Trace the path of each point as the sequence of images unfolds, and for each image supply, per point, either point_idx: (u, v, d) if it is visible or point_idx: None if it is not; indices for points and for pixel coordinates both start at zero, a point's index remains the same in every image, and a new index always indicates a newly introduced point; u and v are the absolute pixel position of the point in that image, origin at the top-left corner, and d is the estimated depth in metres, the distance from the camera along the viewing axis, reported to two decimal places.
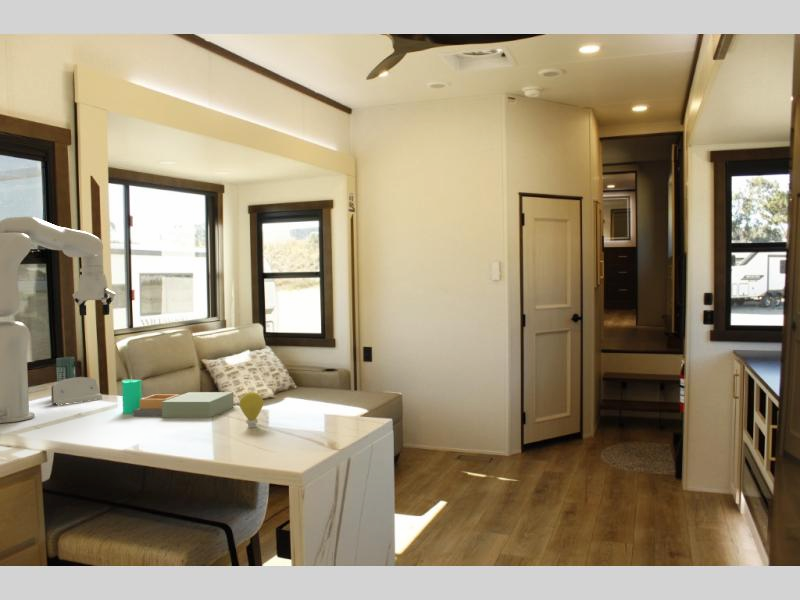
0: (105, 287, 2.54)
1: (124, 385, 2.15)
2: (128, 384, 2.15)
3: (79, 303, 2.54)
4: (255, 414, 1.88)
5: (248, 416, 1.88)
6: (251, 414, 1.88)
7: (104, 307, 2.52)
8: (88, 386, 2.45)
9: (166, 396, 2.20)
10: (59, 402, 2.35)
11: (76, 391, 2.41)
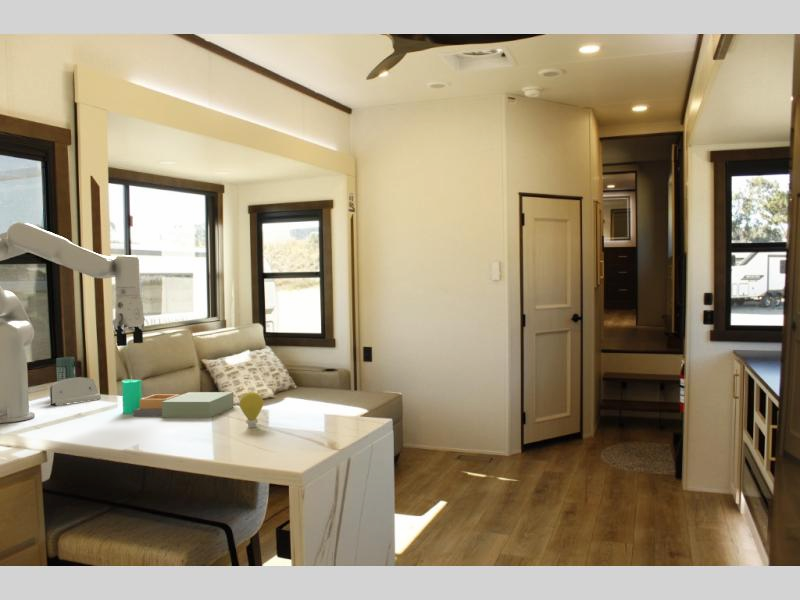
0: None
1: (124, 385, 2.15)
2: (128, 384, 2.15)
3: (124, 331, 2.13)
4: (255, 414, 1.88)
5: (248, 416, 1.88)
6: (251, 414, 1.88)
7: None
8: (87, 386, 2.44)
9: (166, 396, 2.20)
10: (58, 402, 2.34)
11: (75, 391, 2.41)
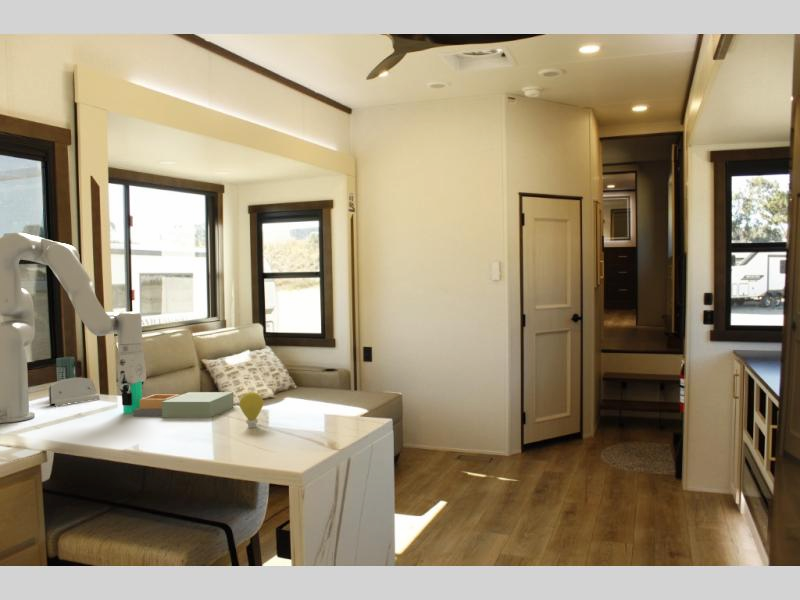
0: None
1: None
2: None
3: (129, 390, 2.14)
4: (255, 414, 1.88)
5: (248, 416, 1.88)
6: (251, 414, 1.88)
7: None
8: (85, 386, 2.44)
9: (166, 396, 2.20)
10: (57, 403, 2.34)
11: (74, 391, 2.40)
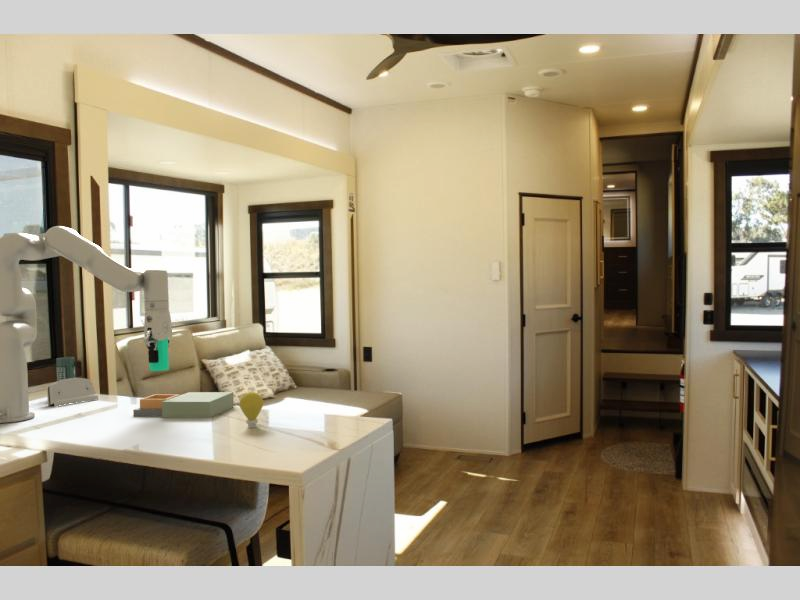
0: None
1: None
2: None
3: (156, 348, 2.13)
4: (255, 414, 1.88)
5: (248, 416, 1.88)
6: (251, 414, 1.88)
7: None
8: (84, 387, 2.44)
9: (166, 396, 2.20)
10: (56, 403, 2.33)
11: (72, 392, 2.40)
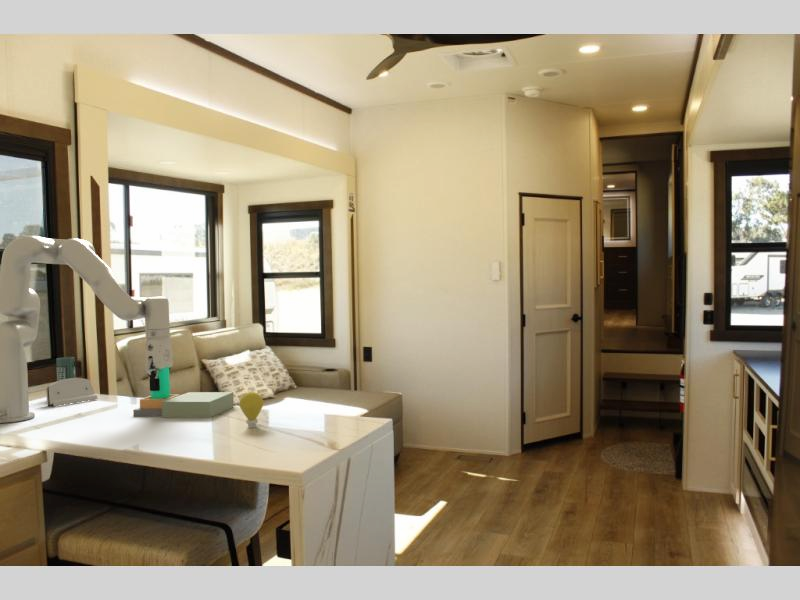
0: None
1: None
2: None
3: (157, 376, 2.13)
4: (255, 414, 1.88)
5: (248, 416, 1.88)
6: (251, 414, 1.88)
7: None
8: (83, 387, 2.43)
9: None
10: (56, 403, 2.33)
11: (72, 392, 2.39)
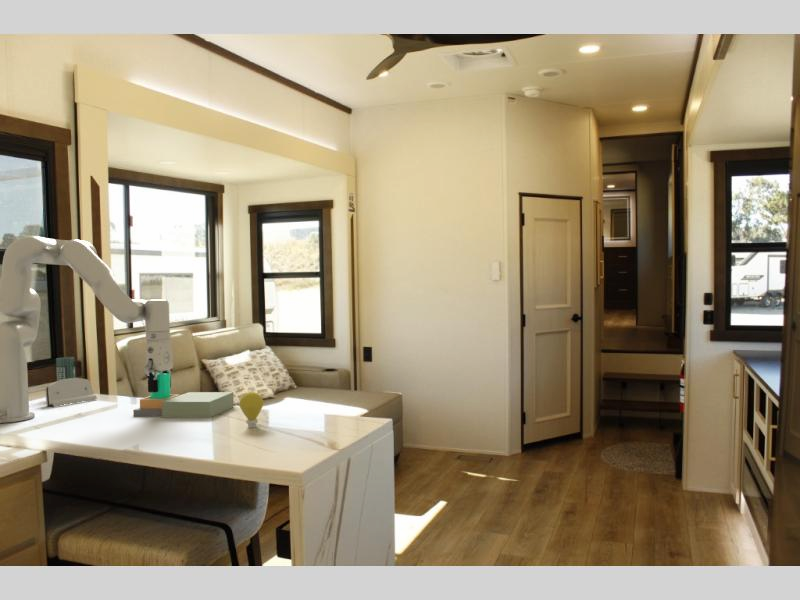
0: None
1: None
2: (158, 376, 2.14)
3: (155, 377, 2.12)
4: (255, 414, 1.88)
5: (248, 416, 1.88)
6: (251, 414, 1.88)
7: None
8: (82, 387, 2.43)
9: None
10: (55, 403, 2.32)
11: (71, 392, 2.39)
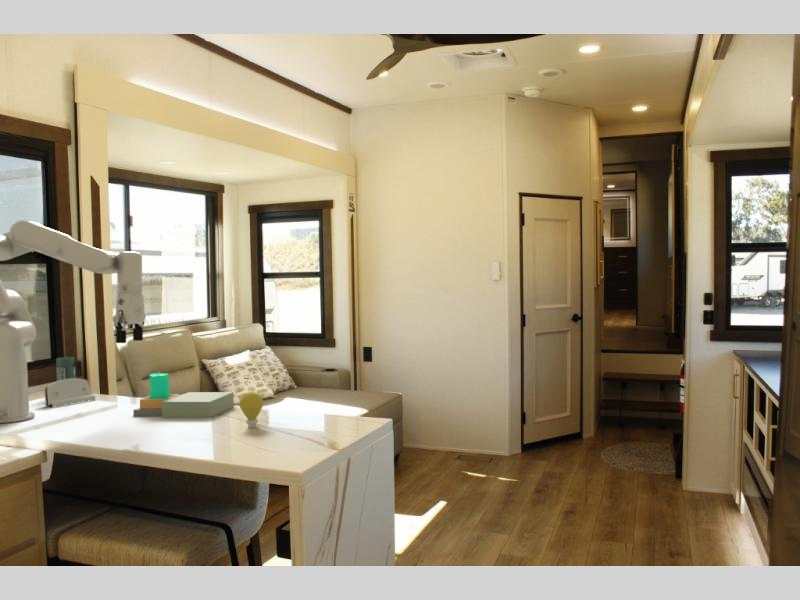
0: None
1: (152, 379, 2.14)
2: (156, 378, 2.14)
3: (123, 328, 2.10)
4: (255, 414, 1.88)
5: (248, 416, 1.88)
6: (251, 414, 1.88)
7: None
8: (81, 387, 2.43)
9: None
10: (55, 404, 2.32)
11: (70, 392, 2.38)
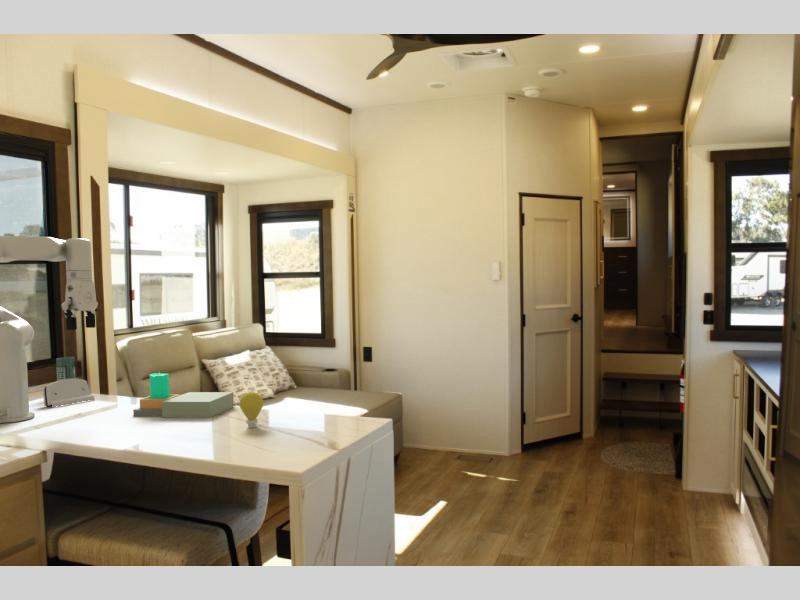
0: None
1: (152, 379, 2.14)
2: (156, 378, 2.14)
3: (73, 315, 2.09)
4: (255, 414, 1.88)
5: (248, 416, 1.88)
6: (251, 414, 1.88)
7: None
8: (80, 387, 2.42)
9: None
10: (54, 404, 2.31)
11: (69, 393, 2.38)
